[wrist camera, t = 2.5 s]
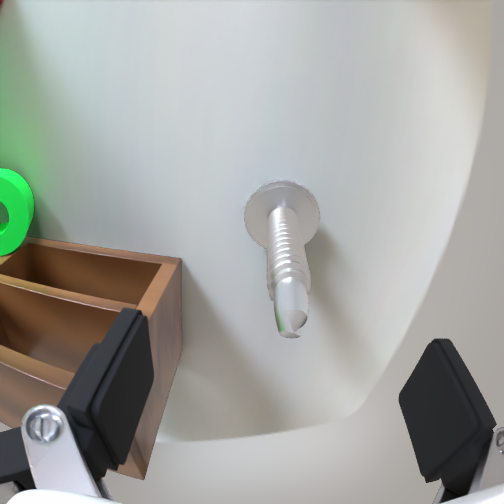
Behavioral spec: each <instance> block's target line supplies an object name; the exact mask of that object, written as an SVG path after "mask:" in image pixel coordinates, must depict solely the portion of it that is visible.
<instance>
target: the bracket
mask: <svg viewBox="0 0 504 504" xmlns="http://www.w3.org/2000/svg"><path fill="white" fill-rule="evenodd" d="M0 202H2V203H3V204H4V205H5V207H6V208H7V211H8V214H9V221H8V222H6V223H0V256H3V255H6V254H9V253H11V252H12V251H14V250H15V249H16V248H18V247H19V245H20V244H21V243H22V241H23V240H24V238H25V236H26V233H27V231H28V229H29V226H30V224H31V221H32V219H33V214H34V199H33V195H32V192H31V189H30V187H29V185H28V184H27V182H26V181H25V180H24V179H23V178H22V177H21V176H20V175H19V174H18V173H16V172H14V171H12V170H8V169H0Z"/></svg>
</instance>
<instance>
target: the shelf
mask: <svg viewBox="0 0 504 504" xmlns="http://www.w3.org/2000/svg"><path fill="white" fill-rule="evenodd" d="M124 307H127V308H132V309H137V310H141V311H142V313H143V315H144V316H147V318H148V326H149V335H150V344H151V353H152V360H153V368H154V381H153V385H152V387H151V390H150V393H149V396H148V399H147V401H146V404H145V407H144V410H143V413H142V415H141V418H140V421H139V424H138V427H137V430H136V433H135V436H134V439H133V442H132V445H131V448H130V451H129V454H128V457H127V460H126V462H125V464H124V465H120V464H119V467H118V470H117V471H114V470H111V469H108V468H107V470H110V471H113V472H117V473H120V474H123V475H126V476H130V477H133V478H137V479H141V480H144V479H145V475H146V472H147V468H148V464H149V461H150V457H151V453H152V449H153V446H154V443H155V439H156V436H157V432H158V429H159V425H160V422H161V419H162V415H163V412H164V408H165V405H166V402H167V398H168V395H169V392H170V389H171V385H172V382H173V379H174V375H175V372H176V369H177V366H178V363H179V359H180V357H181V353H182V350H183V349H182V317H181V258H174V257H166V256H159V255H151V254H144V253H137V252H130V251H123V250H116V249H108V248H101V247H95V246H88V245H81V244H74V243H67V242H60V241H54V240H47V239H41V238H34V237H28V236H27V237H26V238H24V240H23V241H22V243H21V244H20V245H19V247H18V248H16V249H15V250H14V251H12V252H11V253H9V254H6V255H3V256H0V422H2V423H4V424H5V425H7V426H9V427H11V428H12V429H14V428H17V427H20V426H21V421H22V418H23V416H24V415H25V413H26V412H27V411H28V410H29V409H31V408H32V407H34V406H37V405H40V404H49V405H54V406H56V407H57V405H58V403H59V401H60V400H61V398H62V396H63V394H64V392H65V391H66V389H67V387H68V385H69V384H70V382H71V380H72V379H73V377H74V375H75V373H76V372H77V370H78V368H79V367H80V365H81V363H82V362H83V360H84V358H85V357H86V355H87V354H88V352H89V350H90V349H91V347H92V346H93V345H94V344H95V343H101V342H102V340H103V338H104V337H105V335H106V334H107V332H108V330H109V329H110V327H111V325H112V324H113V322H114V321H115V319H116V317H117V316H118V314H119V313H120V311H121V310H122V308H124Z"/></svg>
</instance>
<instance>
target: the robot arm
mask: <svg viewBox="0 0 504 504" xmlns="http://www.w3.org/2000/svg"><path fill="white" fill-rule="evenodd" d="M153 381H154V368H153V360H152V353H151V344H150V335H149V326H148V318H147V316H144V315H143V313H142V311H141V310H137V309H132V308H127V307H124V308H122V310H121V311H120V313H119V314H118V316H117V317H116V319H115V321H114V322H113V324H112V325H111V327H110V329H109V330H108V332H107V334H106V335H105V337H104V338H103V340H102V342H101V343H95V344H94V345H93V346H92V347H91V349H90V350H89V352H88V354H87V355H86V357H85V358H84V360H83V362H82V363H81V365H80V367H79V368H78V370H77V372H76V373H75V375H74V377H73V379H72V380H71V382H70V384H69V385H68V387H67V389H66V391H65V392H64V394H63V396H62V398H61V400H60V401H59V403H58V405H57V407H56V406H54V405H49V404H40V405H37V406H34V407H32V408H31V409H29V410H28V411H27V412H26V413H25V415H24V416H23V418H22V421H21V426H20V427H17V428H14V429H11V430H7V431H4V432H0V504H123V503H119V502H115V501H114V500H113V498H112V496H111V494H110V492H109V490H108V488H107V486H106V484H105V482H104V480H103V478H102V477H104V476H105V474H106V471H107V468H108V469H111V470H114V471H117V470H118V467H119V464H120V465H124V464H125V462H126V460H127V457H128V454H129V451H130V448H131V445H132V442H133V439H134V436H135V433H136V430H137V427H138V424H139V421H140V418H141V415H142V413H143V410H144V407H145V404H146V401H147V399H148V396H149V393H150V390H151V387H152V385H153ZM399 404H400V407H401V410H402V413H403V416H404V419H405V422H406V425H407V429H408V432H409V435H410V438H411V442H412V445H413V448H414V451H415V455H416V459H417V462H418V466H419V469H420V473H421V475H422V476H424V477H425V481H426V483H429V482H433V481H436V480H439V479H440V478H441V480H442V484H441V486H440V488H439V490H438V493H437V495H436V497H435V499H434V501H433V503H432V504H504V427H500V428H498V429H497V430H496V431H495V432H493V430H492V429H493V428H494V427H495V426H496V425H497V424H496V422H495V419H494V417H493V415H492V414H491V411H490V409H489V407H488V406H487V404H486V402H485V400H484V398H483V396H482V394H481V392H480V390H479V389H478V387H477V385H476V383H475V381H474V379H473V377H472V376H471V374H470V372H469V370H468V369H467V367H466V365H465V363H464V362H463V360H462V358H461V357H460V355H459V353H458V352H457V350H456V348H455V347H454V345H453V343H452V342H451V341H450V340H449V339H434V340H433V341H432V342H431V343H429V344H428V346H427V347H426V349H425V351H424V353H423V355H422V356H421V358H420V360H419V362H418V364H417V365H416V367H415V369H414V371H413V372H412V374H411V376H410V377H409V379H408V381H407V382H406V384H405V386H404V387H403V389H402V390H401V392H400V394H399Z"/></svg>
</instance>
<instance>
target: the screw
mask: <svg viewBox="0 0 504 504" xmlns="http://www.w3.org/2000/svg"><path fill="white" fill-rule="evenodd" d="M319 221H320V211H319V207H318V204H317V202H316V200H315V198H314V196H313V195H312V194H311V192H310V191H309V190H308V189H306V188H305V187H304V186H302V185H300V184H298V183H296V182H293V181H288V180H277V181H272V182H269V183H266V184H264V185H262V186H261V187H259V188H258V189H257V190H256V191H255V192H254V193H253V194H252V195H251V197H250V198H249V200H248V202H247V205H246V209H245V225H246V228H247V231H248V233H249V235H250V236H251V237H252V239H253V240H254V241H255V242H256V243H258V244H259V245H260V246H262V247H264V248H265V249H267V281H268V282H267V285H268V290H269V296H270V299H271V300H274V312H275V319H276V323H277V327H278V331H279V333H280V335H281V336H283V337H286V338H298V337H301V335H300V328H301V327H302V326H303V325H304V324H305V322H306V320H307V317H308V312H309V303H308V297H307V296H308V294H309V292H310V290H311V283H310V282H311V275H310V272H309V267H308V262H307V257H306V254H305V249H304V245H305V244H306V243H308V242H309V241H310V240H311V239H312V237H313V236H314V235H315V233H316V231H317V229H318V226H319Z"/></svg>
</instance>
